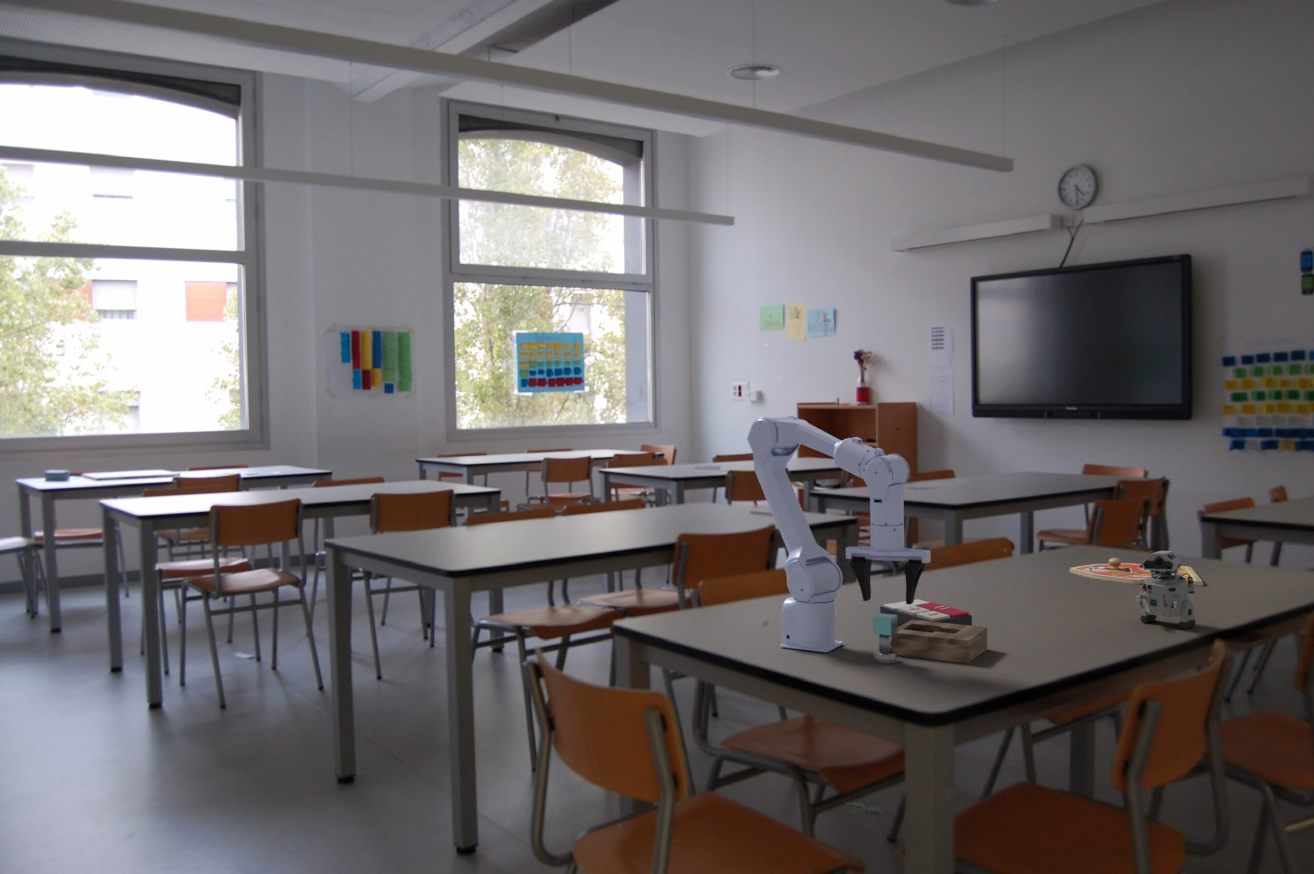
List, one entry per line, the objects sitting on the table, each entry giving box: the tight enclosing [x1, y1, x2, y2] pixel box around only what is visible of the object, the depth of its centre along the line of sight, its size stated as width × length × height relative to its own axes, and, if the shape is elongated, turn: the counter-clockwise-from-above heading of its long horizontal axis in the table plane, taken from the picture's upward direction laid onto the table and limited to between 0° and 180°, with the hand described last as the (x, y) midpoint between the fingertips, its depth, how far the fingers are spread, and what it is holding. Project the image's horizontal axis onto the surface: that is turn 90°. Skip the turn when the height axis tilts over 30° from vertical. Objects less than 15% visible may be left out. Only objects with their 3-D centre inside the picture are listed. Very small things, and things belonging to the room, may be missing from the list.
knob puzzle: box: [1069, 557, 1204, 587], centre depth 261 cm, size 29×30×4 cm
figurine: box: [1135, 550, 1197, 631], centre depth 201 cm, size 9×12×15 cm
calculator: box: [879, 598, 973, 627], centre depth 207 cm, size 11×4×15 cm
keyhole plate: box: [892, 620, 988, 665], centre depth 184 cm, size 14×12×4 cm
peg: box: [872, 612, 898, 665], centre depth 178 cm, size 4×4×8 cm
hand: (888, 601), depth 178 cm, fingers open, 7 cm apart
